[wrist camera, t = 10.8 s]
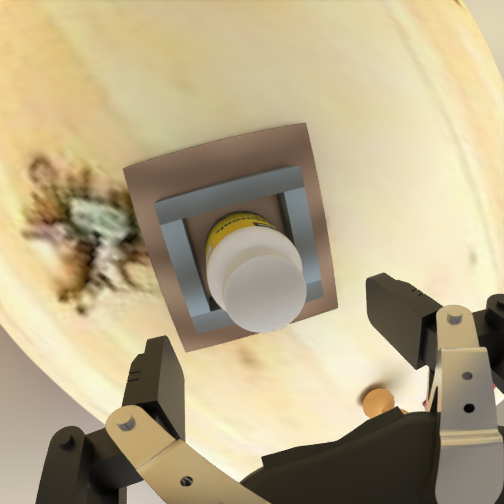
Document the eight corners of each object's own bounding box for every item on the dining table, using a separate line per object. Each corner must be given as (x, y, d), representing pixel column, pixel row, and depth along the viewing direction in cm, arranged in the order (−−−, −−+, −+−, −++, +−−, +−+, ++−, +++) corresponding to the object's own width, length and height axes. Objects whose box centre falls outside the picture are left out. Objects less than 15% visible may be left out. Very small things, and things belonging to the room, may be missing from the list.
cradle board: (127, 168, 22) (113, 169, 18) (299, 124, 23) (317, 118, 19) (186, 343, 27) (185, 369, 23) (331, 300, 28) (350, 320, 24)
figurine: (346, 387, 32) (394, 461, 20) (388, 356, 32) (446, 421, 20) (368, 416, 35) (409, 480, 23) (404, 390, 34) (452, 447, 23)
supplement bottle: (277, 210, 23) (328, 242, 14) (272, 277, 25) (314, 343, 15) (205, 208, 22) (209, 240, 13) (204, 277, 24) (209, 348, 14)
